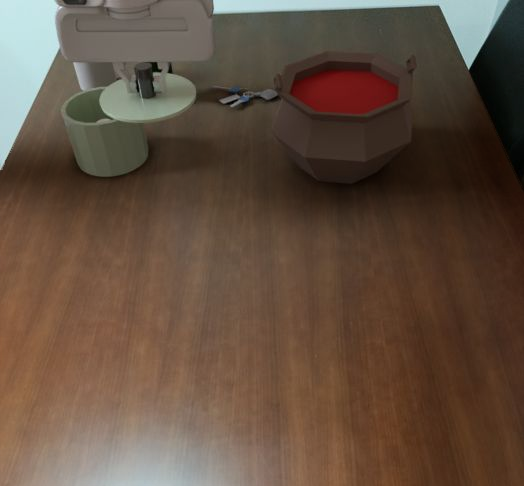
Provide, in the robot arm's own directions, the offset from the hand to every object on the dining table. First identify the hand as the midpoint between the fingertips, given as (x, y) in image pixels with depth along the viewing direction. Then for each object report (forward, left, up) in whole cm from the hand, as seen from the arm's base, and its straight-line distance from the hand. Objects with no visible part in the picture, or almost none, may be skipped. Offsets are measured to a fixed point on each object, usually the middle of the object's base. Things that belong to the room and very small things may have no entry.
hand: (147, 91), depth 82 cm
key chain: (+10, +31, -18) cm, 37 cm away
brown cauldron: (+28, +10, -18) cm, 35 cm away
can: (-20, +37, -18) cm, 46 cm away
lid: (0, 0, -1) cm, 1 cm away
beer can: (-6, +32, -18) cm, 37 cm away
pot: (-12, +12, -18) cm, 24 cm away
